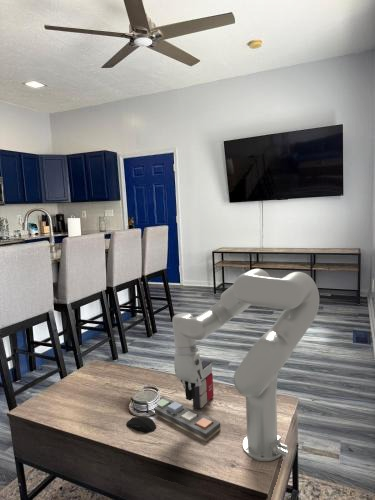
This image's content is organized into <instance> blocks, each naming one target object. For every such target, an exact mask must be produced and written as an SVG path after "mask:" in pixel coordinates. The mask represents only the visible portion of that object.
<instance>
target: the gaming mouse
mask: <svg viewBox="0 0 375 500" xmlns="http://www.w3.org/2000/svg"><path fill="white" fill-rule="evenodd" d="M125 426H126V427H127V428H129V429H132V430H135V431H137V432H139V433H143V434H149V433H153V432H154V431H156V429H157V424H156V422H155V421H154V419H152V418H150V417H149V416H135V417H134V416H132V417H131V418H130V419H129V420H128V421H126V424H125Z"/></svg>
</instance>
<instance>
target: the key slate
mask: <svg viewBox="0 0 375 500" xmlns="http://www.w3.org/2000/svg"><path fill="white" fill-rule="evenodd" d="M183 406H184V405H183V404H181V403H179V402H177V401H174V402H173V403H172V404H170V405H168V406H167V407H168V412H171V413H173V414H175V415H176V414H177V413H179V412H181V411H182V410H183Z"/></svg>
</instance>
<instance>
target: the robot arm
mask: <svg viewBox="0 0 375 500" xmlns="http://www.w3.org/2000/svg"><path fill="white" fill-rule="evenodd" d="M252 305H253V306H257V307H263V308H270V309H277V310H283V311H282V312H281V314H280V315H279V317H278V318H277V320H275V322H274V324H273V325H272V326H271V327H270V328H269V330H267V331H266V332H265V333H264V334H263V335H262V336H261V337H260V338H259V339H257V341H256V342H255V343H254V344H253V345H252V347H251V348H250V349H249V351H248V352H247V354H246V356H245V357H243V360H242V361H241V362H240V364H239V365H238V367H237V368H236V369H235V372H234V374H233V385H234V388H235V389H236V391H237V392H238V393H239V394H240V395H242V396H243V397H245V408H246V409H245V410H246V411H245V413H246V414H245V415H246V418H245V419H246V437H244V438H243V441H242V449H243V452H244V453H245V454H246V455H247V456H249V457H251V459H252V460H255V461H259V462H272V461H275V460H276V459H279V458H280V457H281V456H282V457H285V458H288V456H289V455H290V453H289V450H288V449H289V446H288V445H287V444H285V443H282V442H281V441H282V440H281V436H280V435H278V416H277V415H278V411H277V409H278V407H277V405H278V403H277V399H278V398H277V397H278V396H277V387H278V379H279V378H278V377H279V376H278V374H279V372H280V371H281V369H282V368H283V367H284V365H286V362H287V361H288V360H289V358H290V357H291V355H292V353H293V351H294V350H295V348H296V347H297V346H298V344H299V342H300V341H301V339H302V338H303V337H304V336H305V334H306V332H307V331H308V330H309V328H310V327H311V326H312V324H313V322H315V321H314V320H315V319H316V317H317V314H318V311H319V307H320V306H319V305H320V292H319V288H318V287H317V285H316V282H315V280H313V278H312V277H311V276H310V275H309V274H308V273H305V272H302V271H294V272H290V273H289V274H287V275H285V276H283V277H282V278H278V277H277V278H276V277H271V276H270V274H269V273H268V271H266V270H263V269H261V268H254V269H253V268H252V269H250V270H248V271H246V272H244V273H241V274H240V275H239V276H238V277H237V278H236V279H235V280H234V282H233V284H232V285H230V286H229V287H228V288H227V289H225V290H224V291H223V292H222V293H221V294H220V299H219V300H218V301H216V303H214V304H213V306H211V307H210V308H208V309H207V310H205V311H204V312H202V313H200V314H199V315H197V316H196V315H195V316H194V315H193V314H192V313H189V312H182V313H177V314H175V315H173V316H172V332H173V340H174V351H175V352H174V360H173V363H174V374H175V377H176V378H177V380H178V382H179V381H180V383H182V386H183V389H184V390H185V391H184V392H185V400H187V401H193V398H195V387H196V386H200V385H202V383H201V380H200V379H203V369H202V363H201V362H202V360H201V356H200V353H199V352H198V351H199V349H198V348H197V341H203V340H204V339H206V338H208V337H209V336H210V335H212V334H213V333H214V332H216V331H218V330H219V329H221V327H222V326H224V325H225V324H226V323H228V322H230V321H231V319H233V318H234V317H237V316H239V315H240V314H242V313H244V311H245V310H247V309H248V308H249V307H251V306H252Z"/></svg>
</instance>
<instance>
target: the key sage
mask: <svg viewBox="0 0 375 500" xmlns="http://www.w3.org/2000/svg"><path fill="white" fill-rule="evenodd" d="M169 404H170V402H169V401H166V400H164V399H161V400H159V403H158V404H157V405H158V407H159V408H161V409H163V408H164V407H166V406H168V405H169Z"/></svg>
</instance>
